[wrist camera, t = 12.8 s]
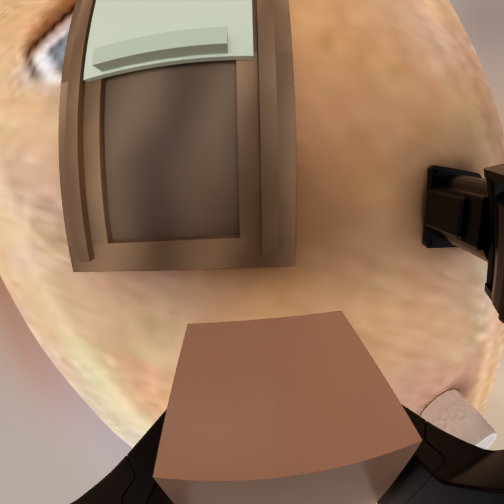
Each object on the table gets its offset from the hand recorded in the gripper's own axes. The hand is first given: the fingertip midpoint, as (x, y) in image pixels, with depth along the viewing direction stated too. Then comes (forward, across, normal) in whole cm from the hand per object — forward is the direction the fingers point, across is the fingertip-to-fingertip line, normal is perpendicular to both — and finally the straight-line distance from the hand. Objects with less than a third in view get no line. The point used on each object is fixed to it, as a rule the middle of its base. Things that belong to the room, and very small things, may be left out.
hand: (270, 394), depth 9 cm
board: (+12, +5, -15) cm, 19 cm away
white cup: (+12, -24, +22) cm, 35 cm away
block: (+1, 0, 0) cm, 1 cm away
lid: (+11, +4, -21) cm, 24 cm away
